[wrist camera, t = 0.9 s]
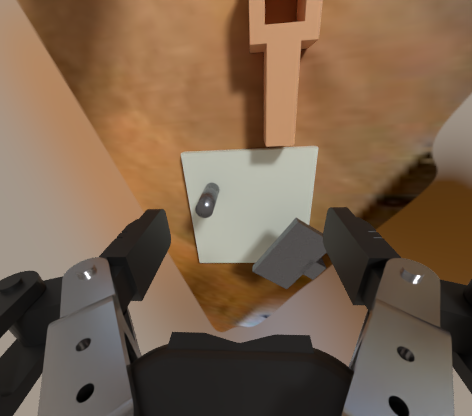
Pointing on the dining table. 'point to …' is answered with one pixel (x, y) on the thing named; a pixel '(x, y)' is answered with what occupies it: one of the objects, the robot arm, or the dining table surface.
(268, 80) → the link
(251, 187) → the board
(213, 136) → the dining table surface
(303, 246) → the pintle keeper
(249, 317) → the dining table surface
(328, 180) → the dining table surface
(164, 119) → the dining table surface
